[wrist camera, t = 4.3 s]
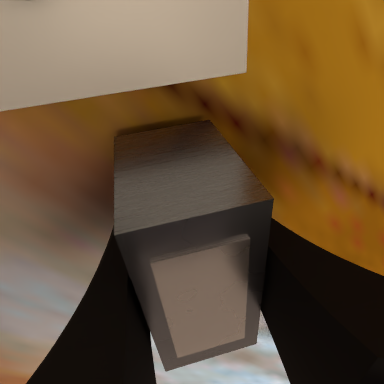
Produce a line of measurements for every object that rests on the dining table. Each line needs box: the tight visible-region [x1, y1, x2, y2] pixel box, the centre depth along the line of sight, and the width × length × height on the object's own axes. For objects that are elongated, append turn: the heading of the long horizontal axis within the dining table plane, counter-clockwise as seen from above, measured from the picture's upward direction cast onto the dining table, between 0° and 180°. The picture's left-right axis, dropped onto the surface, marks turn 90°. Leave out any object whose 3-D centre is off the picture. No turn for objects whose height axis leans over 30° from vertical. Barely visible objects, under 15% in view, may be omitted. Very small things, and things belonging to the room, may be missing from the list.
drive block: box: [114, 120, 274, 371], centre depth 10 cm, size 4×7×5 cm, turn 5°
